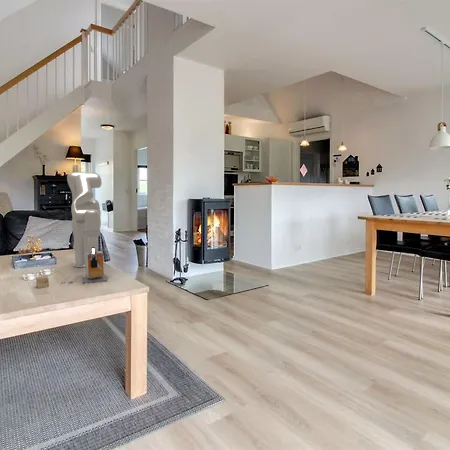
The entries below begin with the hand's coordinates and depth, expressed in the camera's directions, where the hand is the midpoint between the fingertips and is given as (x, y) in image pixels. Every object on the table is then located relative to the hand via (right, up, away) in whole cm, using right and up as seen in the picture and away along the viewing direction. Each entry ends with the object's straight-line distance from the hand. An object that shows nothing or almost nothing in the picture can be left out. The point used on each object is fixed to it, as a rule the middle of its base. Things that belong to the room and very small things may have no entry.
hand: (94, 265), depth 187 cm
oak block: (-22, -9, -11) cm, 27 cm away
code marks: (-13, -8, -5) cm, 16 cm away
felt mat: (0, -8, +1) cm, 8 cm away
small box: (0, -6, +1) cm, 6 cm away
